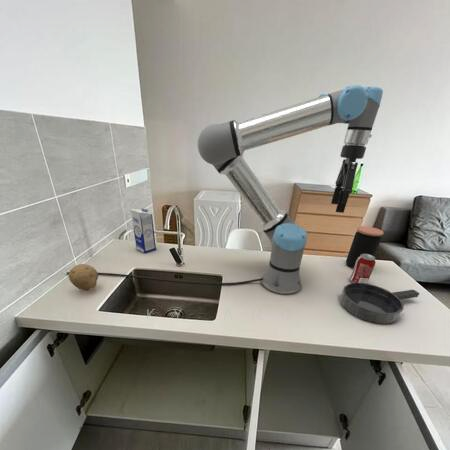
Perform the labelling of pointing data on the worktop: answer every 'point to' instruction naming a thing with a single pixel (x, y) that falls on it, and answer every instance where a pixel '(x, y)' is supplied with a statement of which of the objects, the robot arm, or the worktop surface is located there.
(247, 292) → the worktop surface
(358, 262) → the soda can
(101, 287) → the worktop surface
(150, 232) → the milk carton
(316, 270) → the worktop surface
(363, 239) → the coffee jar
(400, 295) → the pan handle
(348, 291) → the pan
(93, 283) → the potato
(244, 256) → the worktop surface
